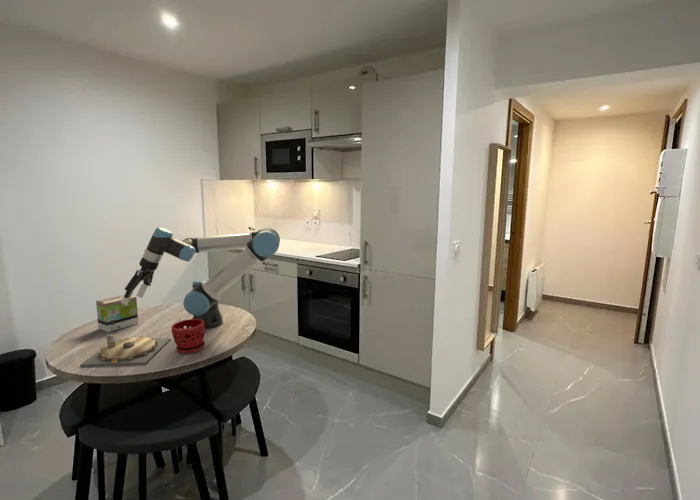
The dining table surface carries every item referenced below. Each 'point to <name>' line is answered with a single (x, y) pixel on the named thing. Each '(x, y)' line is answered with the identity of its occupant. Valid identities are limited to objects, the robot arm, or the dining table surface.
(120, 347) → the sprocket
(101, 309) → the tea box
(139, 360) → the sprocket base
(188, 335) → the plant pot
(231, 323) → the dining table surface
